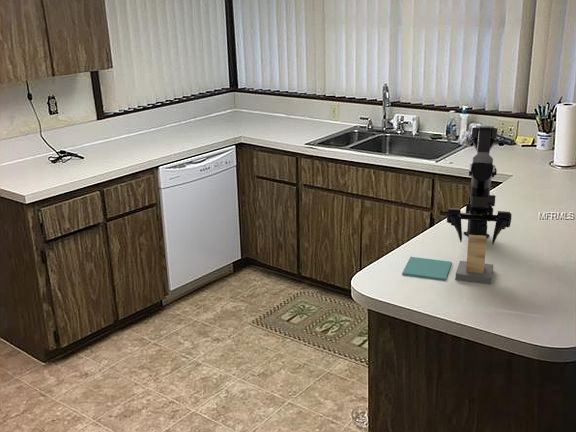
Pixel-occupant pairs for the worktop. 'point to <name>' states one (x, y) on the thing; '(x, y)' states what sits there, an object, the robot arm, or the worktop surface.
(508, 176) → the worktop surface
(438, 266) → the teal mat
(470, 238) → the oak block
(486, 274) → the charcoal board
